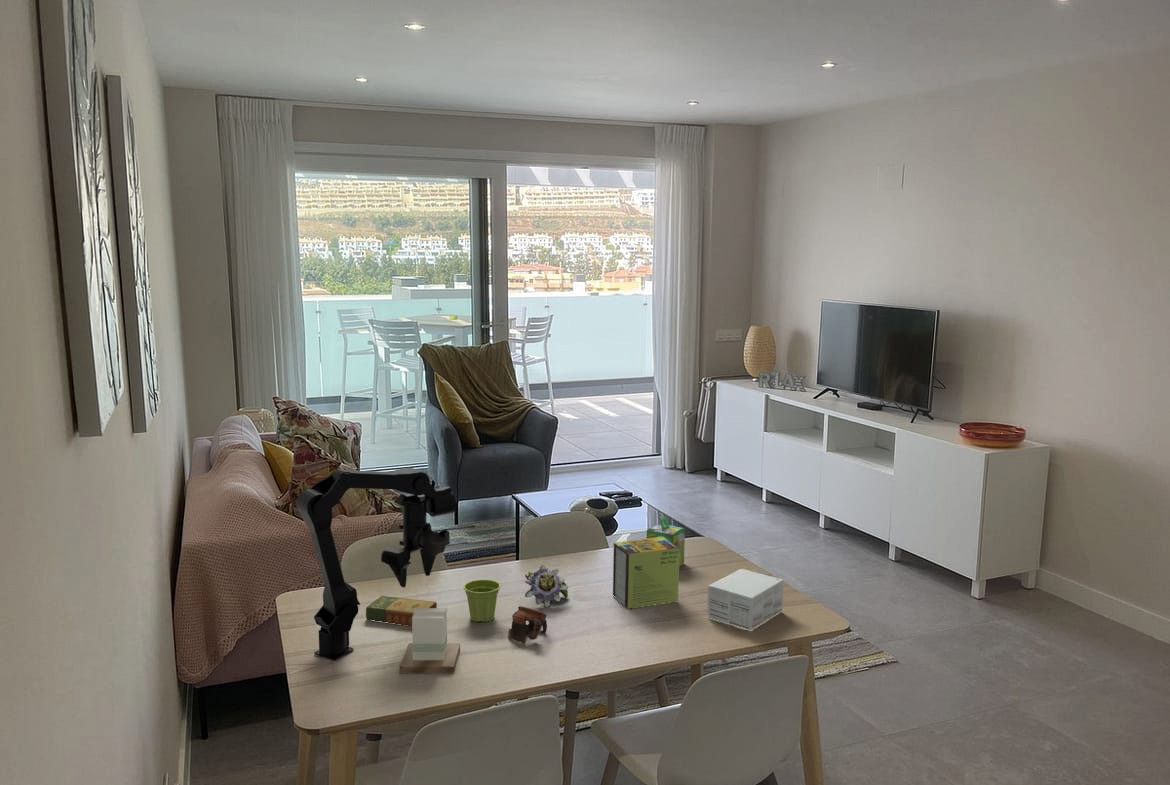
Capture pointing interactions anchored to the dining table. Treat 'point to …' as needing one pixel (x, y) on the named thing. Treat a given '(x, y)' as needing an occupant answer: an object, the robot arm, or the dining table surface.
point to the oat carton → (429, 633)
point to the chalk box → (669, 535)
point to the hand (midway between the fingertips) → (415, 581)
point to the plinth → (430, 661)
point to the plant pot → (482, 599)
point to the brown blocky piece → (530, 630)
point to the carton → (395, 609)
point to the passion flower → (546, 586)
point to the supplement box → (745, 598)
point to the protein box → (646, 572)
